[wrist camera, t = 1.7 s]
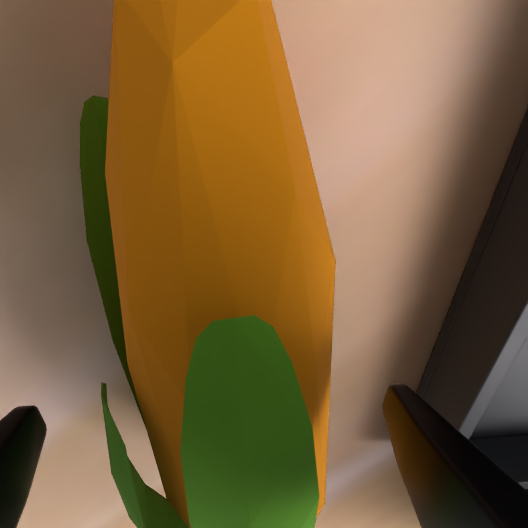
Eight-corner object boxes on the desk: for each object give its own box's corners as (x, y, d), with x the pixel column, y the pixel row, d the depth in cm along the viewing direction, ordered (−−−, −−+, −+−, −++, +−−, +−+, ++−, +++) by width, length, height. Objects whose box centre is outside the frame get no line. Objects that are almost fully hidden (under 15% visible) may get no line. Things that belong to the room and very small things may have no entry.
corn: (150, 671, 12) (-1124, -676, 1) (167, 452, 18) (-5, -58, 8) (359, 618, 13) (709, -432, 2) (304, 427, 19) (320, -62, 8)
